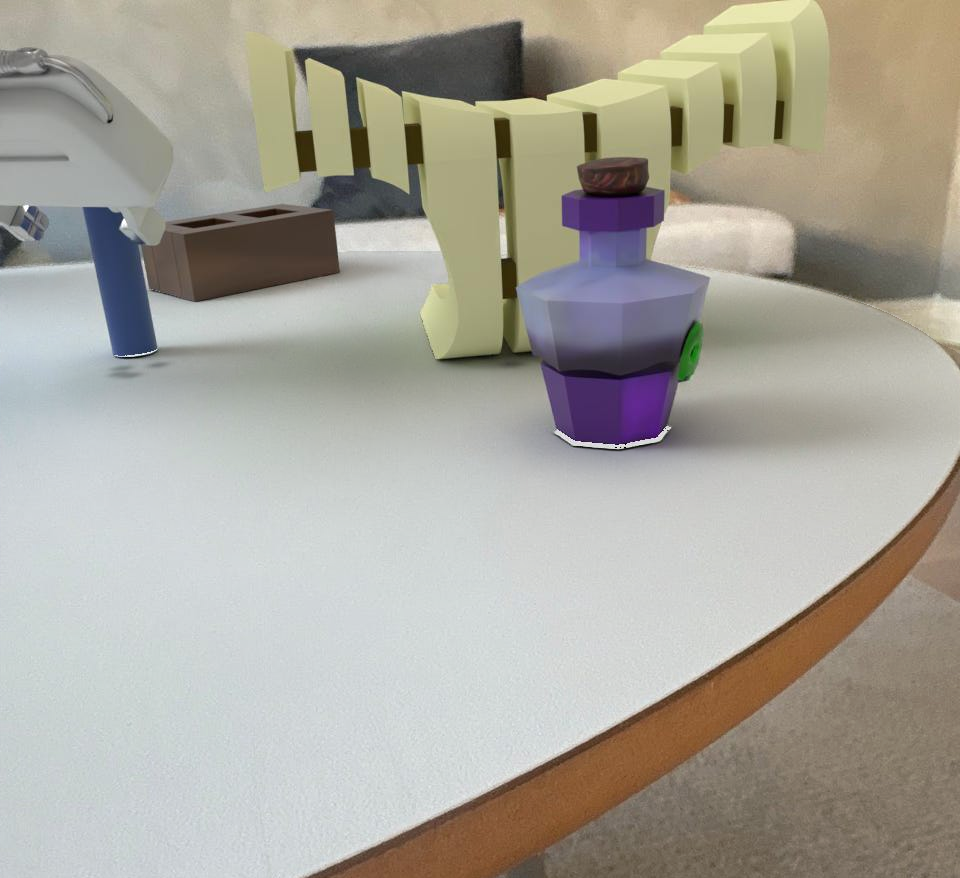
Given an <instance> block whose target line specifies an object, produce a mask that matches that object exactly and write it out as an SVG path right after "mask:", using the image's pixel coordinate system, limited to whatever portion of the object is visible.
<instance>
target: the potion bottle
mask: <svg viewBox="0 0 960 878" xmlns="http://www.w3.org/2000/svg"><path fill="white" fill-rule="evenodd" d="M577 171H578V177H579V181H580V184H581V186H582V190H574V191H572V192H569V193H567V194H564V195H562V226H564V227H568V228H571V229H575V230H578V231H579V253H580V261H577V262H574V263H570V264H567V265H564V266H561V267H558V268H554V269H551V270H548V271H545V272H541V273H540V274H538V275H536V276H534V277H533V278H531V279H529V280H527V281H526V282H524V283H522V284H520V285H519V286H517V287H516V290H517V294H518V298H519V302H520V306H521V310H522V314H523V318H524V322H525V326H526V330H527V334H528V338H529V342H530V346H531V350H532V351H531V354H532V357H533V356H536V357H538V358H540V359H541V360H542V361H541V362H540V363H539V364H540V368H541V372H542V373H541V374H542V376H543V381H544V385H545V388H546V392H547V397H548V401H549V404H550V409H551V412H552V416H553V421H554V425H555V430H556V429H558V430H559V431H561V432H562V433H564V434H565V435H567V436H568V437H570V438H571V439H573V440H575V441H581V442H592V443H603V444H615V445H619V444H625V445H626V444H627V443H630V442H635V441H640V440H645V439H651V438H656V437H658V435H659V434H660V433H661V432H662V431H664V430H663V429H664V428H665V427H666V426H667V425H668V424H669V422H670V418H671V413H672V409H673V405H674V402H675V397H676V394H677V390H678V386H679V383H683V382H685V383H686V382H689V381H690V380H691V377H692V376H694V374H695V372H696V369H697V367H698V365H699V361H700V358H701V351H702V347H703V340H704V326H703V323H701V321H700V320H701V317H702V313H703V308H704V305H705V301H706V298H707V297H706V296H707V292H708V288H709V285H710V281H711V277H710V276H707V275H704V274H700V273H698V272H694V271H691V270H687V269H684V268H681V267H677V266H673V265H670V264H668V263H667V264H666V263H663V262H658V261H655V260H652V259H651V260H648V259H646V237H647V228H650V227H654V226H656V225H658V224H659V223H661V222H662V223H663V222H664V221H665V215H664V198H665V190H661V189H656V188H650V187H646V185H647V182H648V180H649V172H648V159H646V158H635V157H613V158H603V159H597V160H593V161H590V162H587V163H584V164H581V165H579V166H577ZM662 223H661V224H662ZM665 429H666V428H665ZM667 431H668V430H667ZM615 448H617V447H615ZM620 448H621V447H620ZM624 448H626V447H624Z"/></svg>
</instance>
